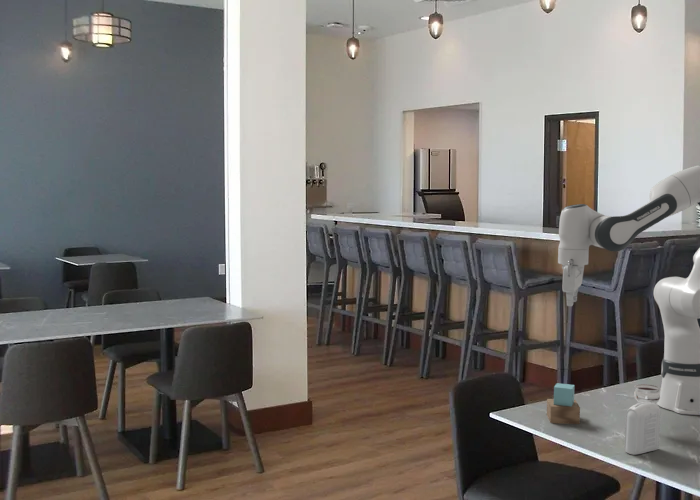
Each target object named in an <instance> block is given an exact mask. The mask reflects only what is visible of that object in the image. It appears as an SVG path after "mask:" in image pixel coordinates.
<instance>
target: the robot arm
mask: <svg viewBox="0 0 700 500" xmlns="http://www.w3.org/2000/svg"><path fill="white" fill-rule="evenodd" d="M696 204H698V205H699V207H700V165H694V166H691V167H688V168H684V169H682V170H678V171H677V172H675V173H673V174H671V175H668V176H666V177H665V178H664V179H662V180H660V181H659V182H658V183H656V184H654V185H653V186H652V187H651V189H650V192H649V201H647V203H645V204H643V205H642V206H640V207H639V208H636V209H634V210H633V211H632V212H629V213H628V214H626V215H620V216H609V215H604V214H603V213H600V212H598V211H596V210H594V209H593V208H591V207H590V206H588V205H587V204H585V203H579V204H571V205H567V206H565V207H564V208H562V209H561V213H560V217H559V225H558V236H559V244H558V247H557V248H558V250H557V251H558V255H557V264H559V265H561V268H562V269H561V270H562V284H561V285H562V292H563V293H565V299H566V307H573V305H574V303H576V302H577V301H578V294H579V293H578V291H579V288H580V287H581V285H582V284H583V278H584V270H585V266H588V265H589V256H590V255H589V254H590V253H589V252H590V250H589V249H590V246H594V247H598V248H600V249H605V250H606V251H609V252H620V251H622V250H625V249H626V248H627V247H629V246H630V245H631V244H632V242H633V241H634V240H635V239H636V237H638V236H639V234H641V233H642V232H644V231H646V230H648V229H649V228H651V227H653V226H654V225H657V224H658V223H660V222H661V221H662V220H665V219H666V218H668V217H671V216H673V215H676V214H679V213H680V212H683V211H685V210H687V209H689V208H690V207H692V206H694V205H696ZM692 261H693V266H692V269H691V272H690V273H689V275H688V277H682V276H681V277H680V276H669V277H664V278H661V279H660V280H659V281H657V283H656V284H655V286H654V288H653V297H654V301H655V302H656V304H657V306H658V308H659V311H660V315H661V321H662V324H663V332H664V333H663V334H664V348H663V349H664V350H663V351H664V353H663V358H662V361H661V373H660V374H661V377H662V378H661V386H660V390H659V393H660V399H659V401H658V402H657V403H656V404H657V405H658V406H659V408H663V409H666V410H670V411H672V412H675V413H678V414H681V415H695V416H700V326H699V322H698V320H699V319H700V247H699V248H698V249H697V250H696V251H695V253H694V255H693V256H692Z"/></svg>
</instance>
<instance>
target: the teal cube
mask: <svg viewBox="0 0 700 500" xmlns="http://www.w3.org/2000/svg"><path fill="white" fill-rule="evenodd" d="M575 388H576V387H575V384H568V383H555V385H554V386H553V399H554V405H563V406H572V405H573V403H574V400H575Z"/></svg>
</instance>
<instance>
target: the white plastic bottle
mask: <svg viewBox="0 0 700 500" xmlns="http://www.w3.org/2000/svg"><path fill="white" fill-rule="evenodd" d="M661 414H662V413H661V407H660V406H659V405H657V403H656V404H654V403H651V402H641V403H638V402H637V403H636V404H633V405H632V406H630V407H629V408H628V409H627V410H626V412H625V423H624V424H625V427H624V451H625V452H626V453H627V454H630V455H632V456H635V455H641V454H644V453H648V452H652V451H657V450H658V449H659V448H660V433H661Z"/></svg>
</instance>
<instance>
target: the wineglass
mask: <svg viewBox="0 0 700 500" xmlns="http://www.w3.org/2000/svg"><path fill="white" fill-rule="evenodd" d="M633 387H634V389H635V390H634V392H633V398H634V400H636V402H637V404H638V403H641V402H651V403H654V404H657V402H658V401H659V399H660V389H661V387H659V386H658V385H654V384H653V385H652V384H645V383H641V384H639V383H638V384H635V385H634V386H633Z"/></svg>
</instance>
